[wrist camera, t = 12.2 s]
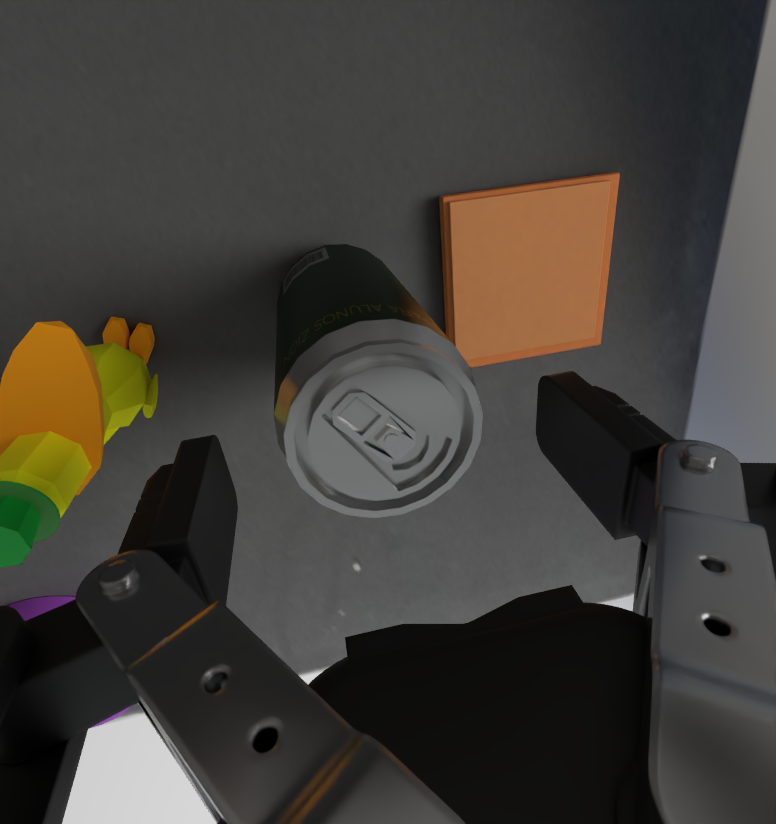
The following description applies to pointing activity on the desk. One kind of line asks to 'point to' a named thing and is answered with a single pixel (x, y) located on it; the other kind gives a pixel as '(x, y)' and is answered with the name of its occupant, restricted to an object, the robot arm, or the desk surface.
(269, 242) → the desk surface
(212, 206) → the desk surface
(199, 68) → the desk surface
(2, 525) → the toy figure
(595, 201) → the orange square panel
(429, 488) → the beer can
